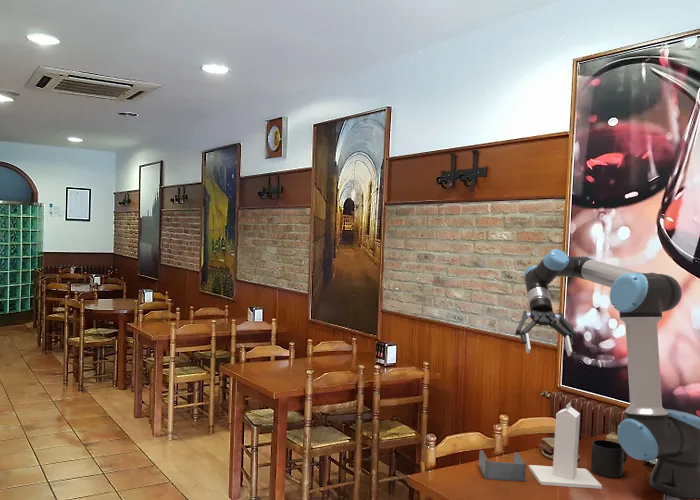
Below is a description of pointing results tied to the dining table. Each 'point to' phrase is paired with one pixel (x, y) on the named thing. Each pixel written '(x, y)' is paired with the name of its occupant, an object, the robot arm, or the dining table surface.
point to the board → (580, 480)
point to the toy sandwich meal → (549, 448)
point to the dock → (502, 468)
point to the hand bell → (613, 425)
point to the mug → (607, 458)
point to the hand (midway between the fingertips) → (549, 352)
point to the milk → (566, 443)
